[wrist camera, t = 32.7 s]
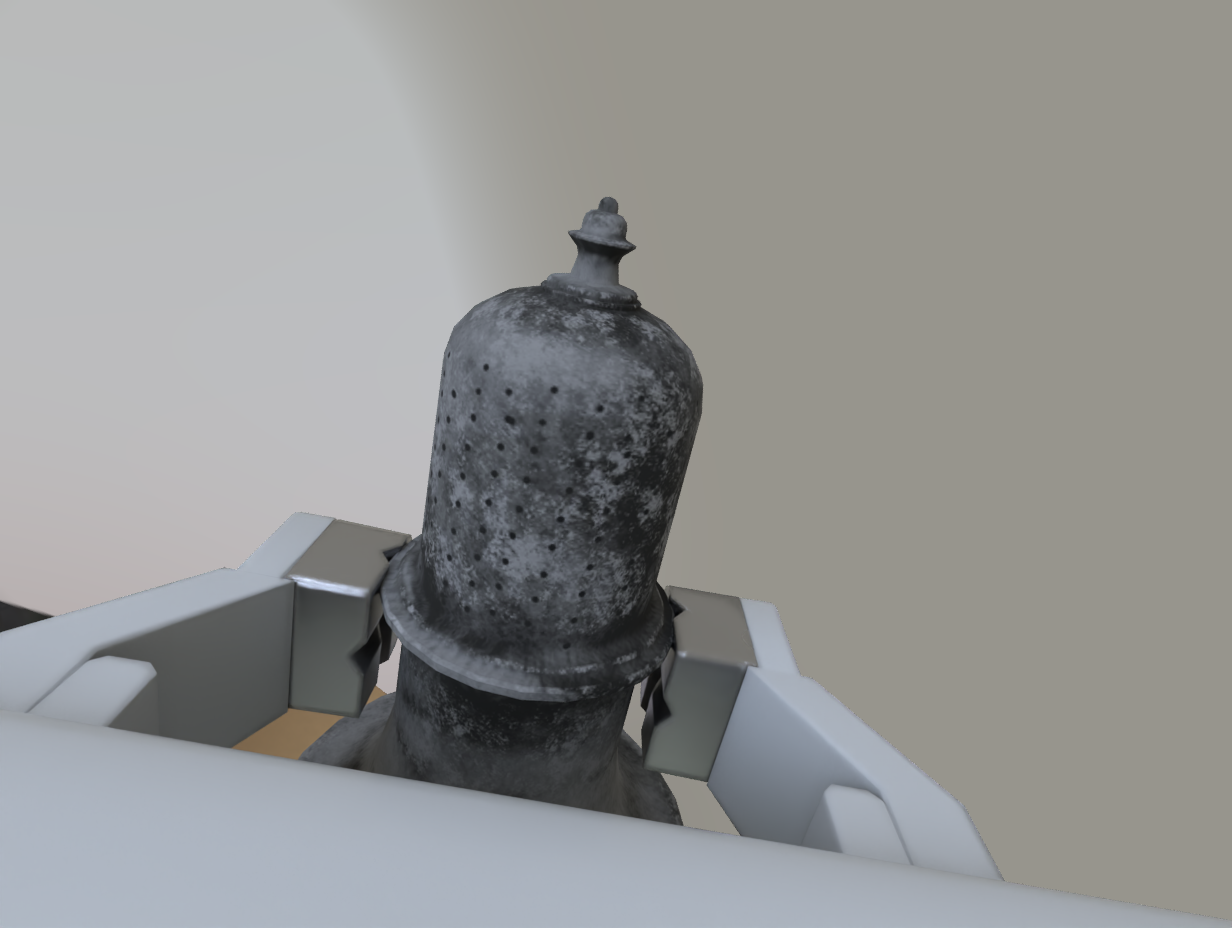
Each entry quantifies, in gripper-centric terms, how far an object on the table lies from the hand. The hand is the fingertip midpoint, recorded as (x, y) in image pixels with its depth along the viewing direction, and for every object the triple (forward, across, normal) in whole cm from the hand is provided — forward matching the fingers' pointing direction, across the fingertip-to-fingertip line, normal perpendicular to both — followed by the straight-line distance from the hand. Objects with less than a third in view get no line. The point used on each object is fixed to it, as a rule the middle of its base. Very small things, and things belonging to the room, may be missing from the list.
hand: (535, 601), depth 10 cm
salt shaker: (-1, 0, -7) cm, 7 cm away
